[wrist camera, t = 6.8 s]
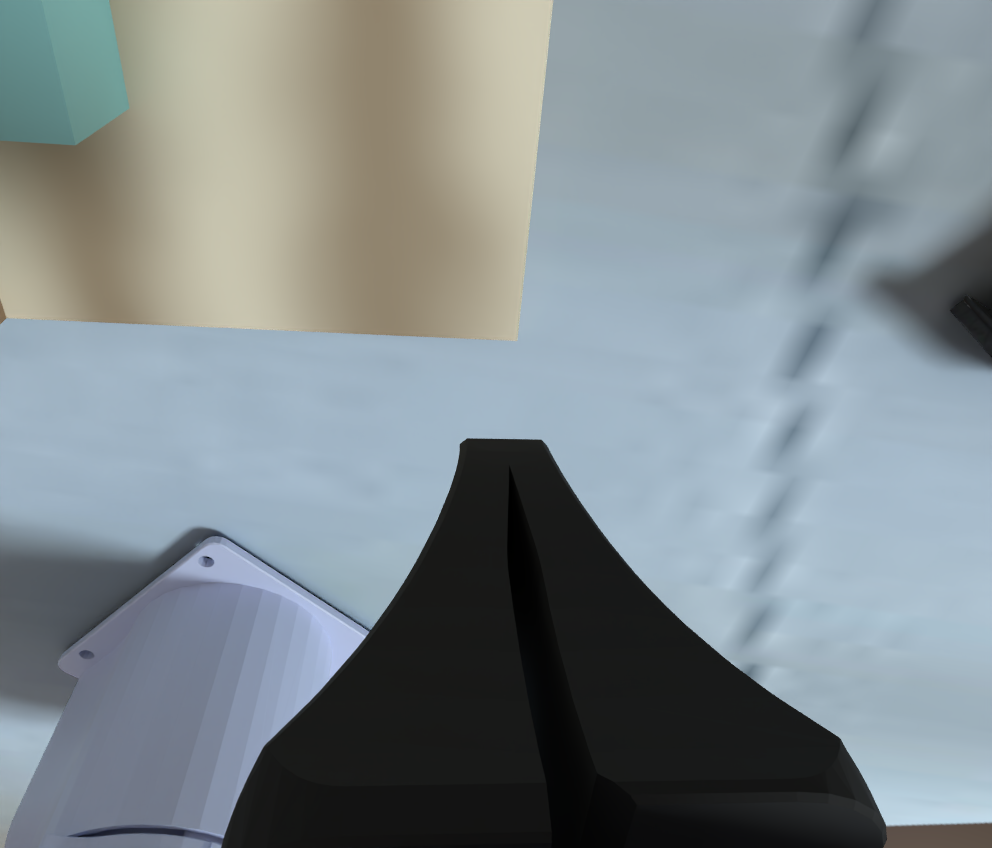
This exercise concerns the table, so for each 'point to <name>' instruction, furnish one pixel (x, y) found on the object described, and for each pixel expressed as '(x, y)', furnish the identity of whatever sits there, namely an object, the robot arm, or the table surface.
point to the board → (292, 172)
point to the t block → (58, 70)
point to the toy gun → (976, 321)
